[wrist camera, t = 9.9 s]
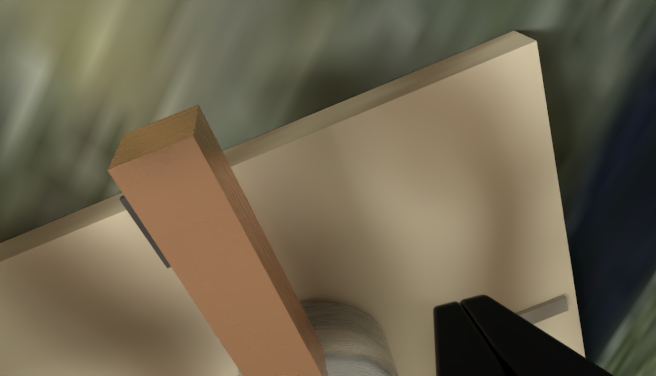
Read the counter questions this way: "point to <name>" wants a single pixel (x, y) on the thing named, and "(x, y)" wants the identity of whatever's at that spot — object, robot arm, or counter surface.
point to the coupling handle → (236, 259)
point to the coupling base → (327, 229)
